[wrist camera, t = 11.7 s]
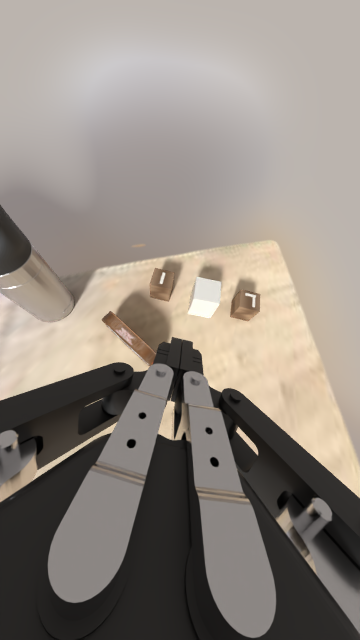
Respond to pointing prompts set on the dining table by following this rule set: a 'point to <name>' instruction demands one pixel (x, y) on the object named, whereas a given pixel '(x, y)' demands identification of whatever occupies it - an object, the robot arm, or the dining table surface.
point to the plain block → (204, 297)
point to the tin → (130, 338)
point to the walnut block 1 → (161, 284)
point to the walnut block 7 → (245, 305)
